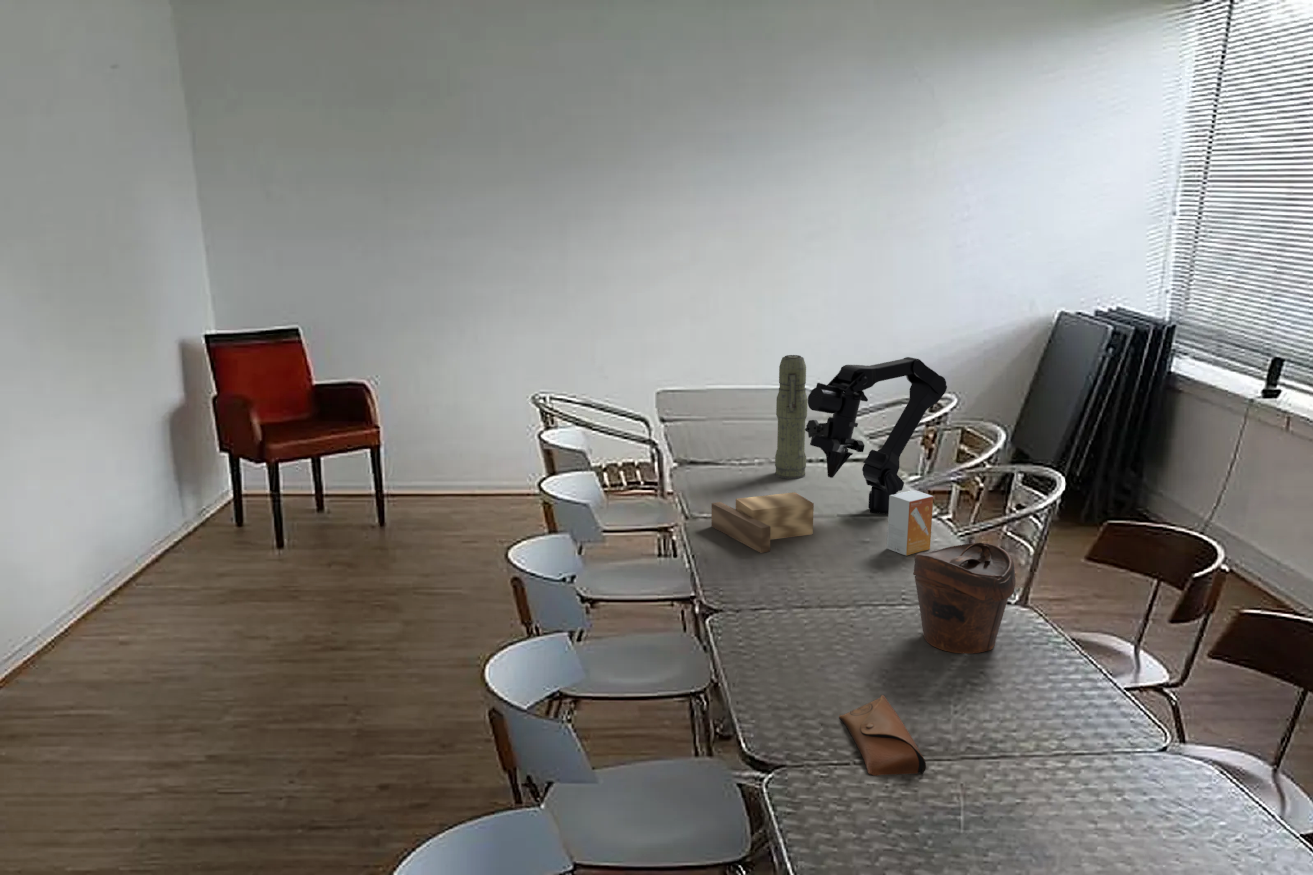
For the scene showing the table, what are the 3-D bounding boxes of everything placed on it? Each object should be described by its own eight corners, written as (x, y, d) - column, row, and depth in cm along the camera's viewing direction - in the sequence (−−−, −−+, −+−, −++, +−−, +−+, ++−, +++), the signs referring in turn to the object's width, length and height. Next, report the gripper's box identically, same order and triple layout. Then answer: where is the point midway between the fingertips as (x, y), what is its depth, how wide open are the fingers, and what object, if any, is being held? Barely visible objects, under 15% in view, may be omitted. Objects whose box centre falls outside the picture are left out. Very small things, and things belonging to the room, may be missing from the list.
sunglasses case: (834, 713, 161) (856, 679, 160) (870, 732, 162) (893, 698, 161) (868, 777, 143) (894, 739, 142) (909, 797, 145) (934, 759, 144)
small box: (906, 556, 230) (909, 501, 227) (885, 548, 235) (888, 494, 232) (931, 549, 234) (934, 495, 231) (910, 542, 239) (913, 489, 236)
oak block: (794, 522, 254) (795, 492, 253) (812, 535, 245) (813, 503, 243) (735, 529, 249) (735, 498, 248) (752, 542, 240) (752, 510, 238)
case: (1008, 621, 194) (1014, 532, 190) (1015, 668, 176) (1021, 570, 171) (912, 613, 199) (915, 526, 195) (909, 658, 180) (912, 563, 176)
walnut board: (720, 524, 253) (720, 501, 251) (770, 551, 234) (770, 526, 232) (711, 526, 251) (711, 503, 250) (761, 553, 233) (761, 528, 231)
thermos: (802, 469, 303) (805, 352, 294) (808, 480, 291) (811, 359, 283) (773, 469, 303) (775, 353, 295) (777, 480, 291) (779, 359, 283)
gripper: (832, 410, 262) (818, 469, 264) (798, 407, 247) (784, 468, 249) (871, 420, 256) (857, 480, 258) (839, 417, 241) (824, 480, 243)
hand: (830, 477), depth 252 cm, fingers closed
